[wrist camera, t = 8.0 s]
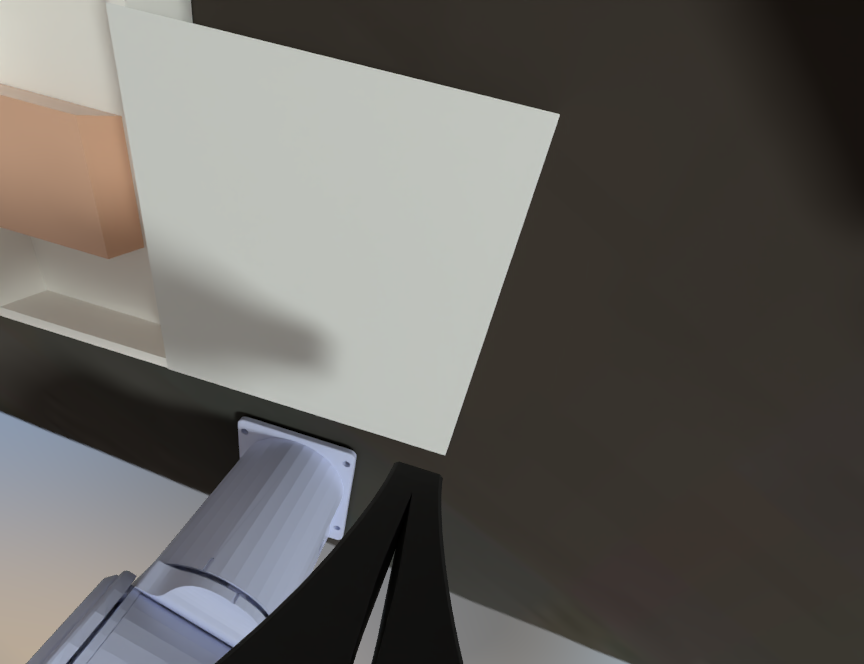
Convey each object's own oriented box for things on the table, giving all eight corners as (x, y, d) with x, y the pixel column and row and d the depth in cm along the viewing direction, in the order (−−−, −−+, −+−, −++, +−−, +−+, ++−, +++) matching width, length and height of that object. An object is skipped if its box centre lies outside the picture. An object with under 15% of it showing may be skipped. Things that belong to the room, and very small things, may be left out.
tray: (219, 343, 23) (180, 371, 20) (51, 292, 23) (-7, 313, 21) (190, -5, 15) (119, -33, 12) (-64, -67, 15) (-183, -105, 13)
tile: (-6, 225, 18) (39, 216, 20) (108, 259, 18) (144, 247, 20) (-60, 78, 15) (-1, 83, 17) (75, 115, 15) (121, 115, 17)
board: (457, 401, 21) (445, 455, 18) (222, 330, 22) (168, 368, 19) (549, 116, 14) (559, 114, 11) (200, 29, 15) (105, 1, 12)
